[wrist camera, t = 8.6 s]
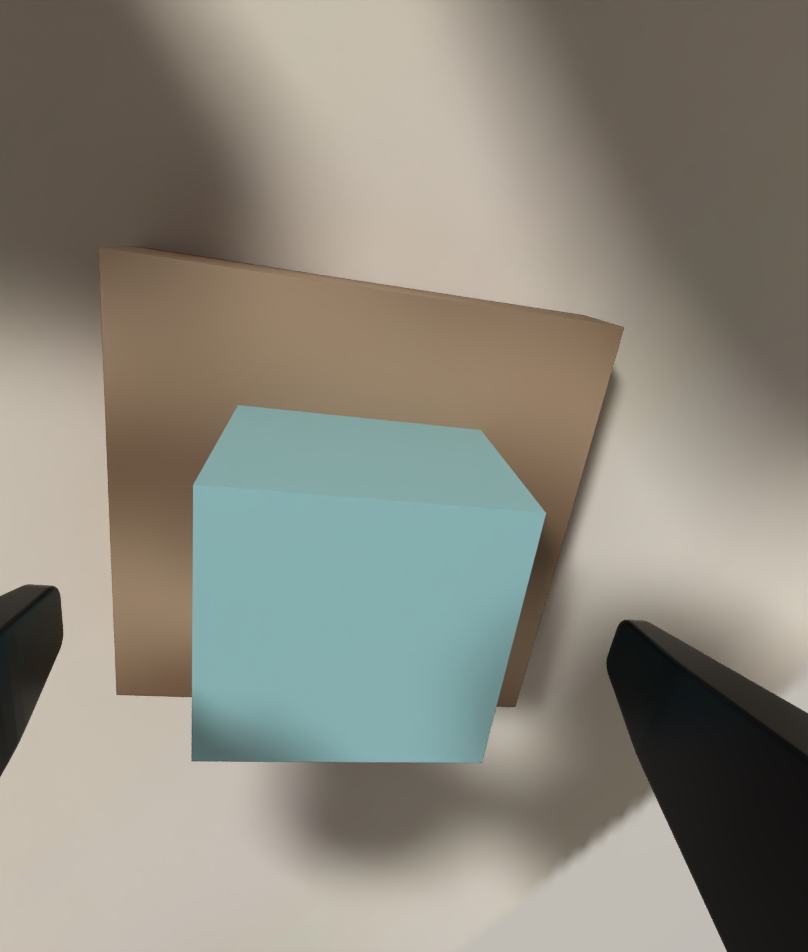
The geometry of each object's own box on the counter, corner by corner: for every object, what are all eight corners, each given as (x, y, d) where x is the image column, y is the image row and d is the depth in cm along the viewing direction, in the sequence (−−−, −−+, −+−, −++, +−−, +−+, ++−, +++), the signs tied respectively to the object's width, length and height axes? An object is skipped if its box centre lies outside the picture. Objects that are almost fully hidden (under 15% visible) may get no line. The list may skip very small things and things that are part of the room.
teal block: (442, 624, 14) (481, 762, 10) (230, 615, 13) (191, 761, 9) (480, 430, 12) (546, 513, 8) (238, 405, 11) (193, 484, 8)
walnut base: (495, 656, 17) (515, 706, 15) (142, 640, 15) (116, 695, 14) (584, 315, 13) (624, 327, 12) (134, 246, 12) (98, 247, 10)
